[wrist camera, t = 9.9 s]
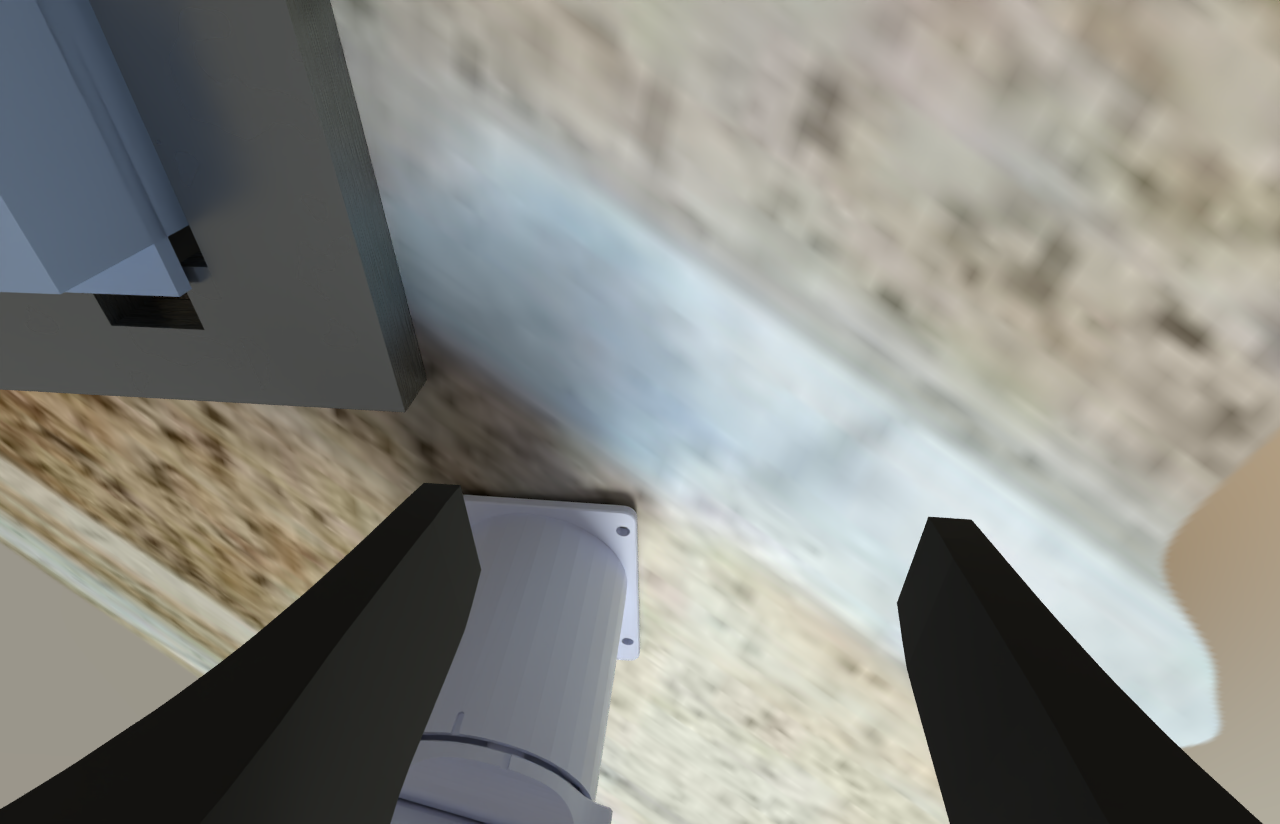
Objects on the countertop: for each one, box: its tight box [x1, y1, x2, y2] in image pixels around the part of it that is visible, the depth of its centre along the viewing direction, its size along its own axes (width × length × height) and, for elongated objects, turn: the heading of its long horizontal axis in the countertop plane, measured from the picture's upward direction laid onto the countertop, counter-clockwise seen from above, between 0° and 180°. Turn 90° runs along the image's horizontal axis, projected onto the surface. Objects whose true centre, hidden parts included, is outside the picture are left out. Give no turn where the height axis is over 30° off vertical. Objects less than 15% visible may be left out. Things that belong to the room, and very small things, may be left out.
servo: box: [0, 0, 200, 297], centre depth 15 cm, size 9×4×6 cm, turn 1°
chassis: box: [0, 0, 427, 412], centre depth 16 cm, size 16×14×2 cm
